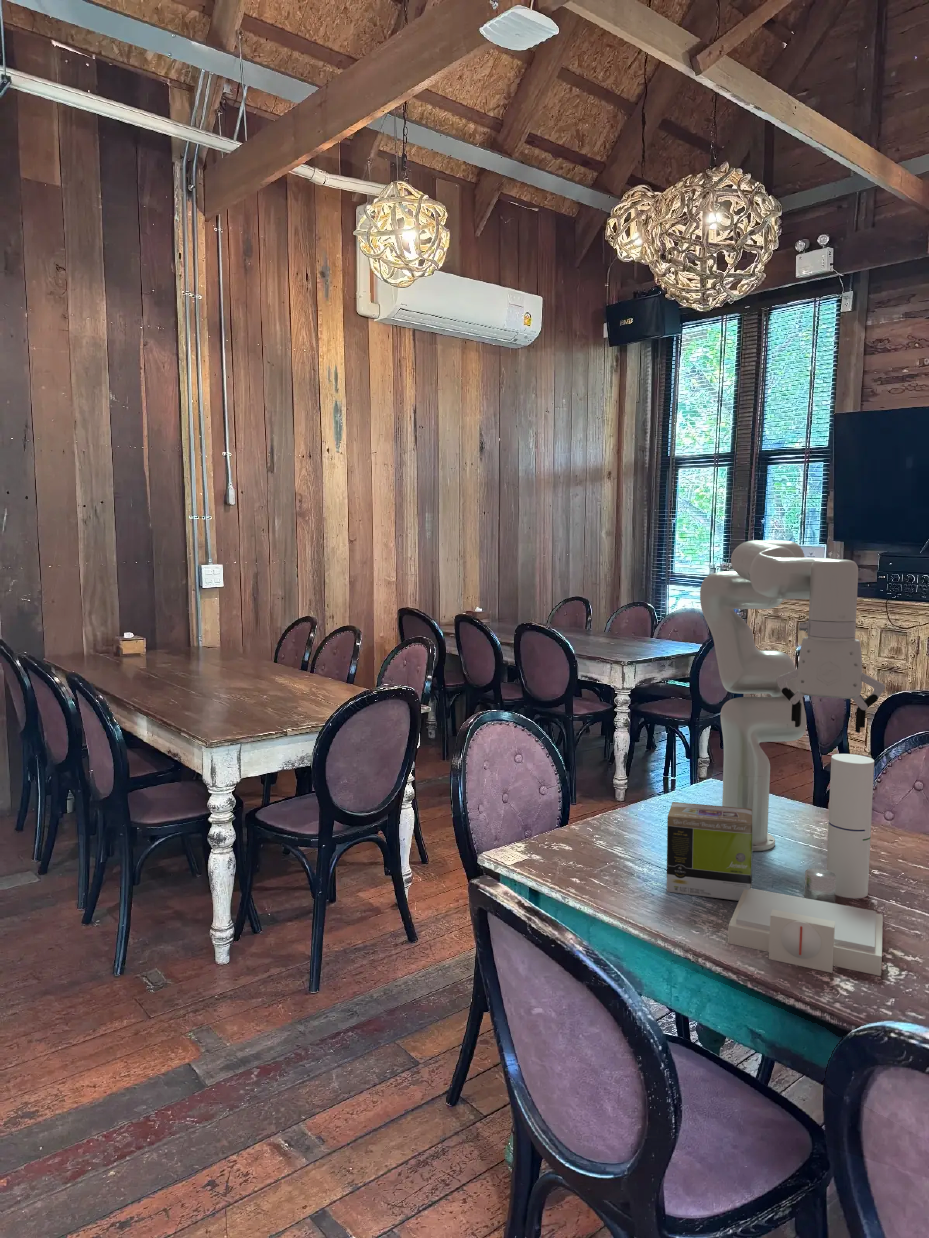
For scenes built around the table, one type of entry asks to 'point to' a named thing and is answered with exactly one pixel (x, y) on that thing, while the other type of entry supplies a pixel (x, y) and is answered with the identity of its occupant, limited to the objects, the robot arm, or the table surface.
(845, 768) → the cylindrical container
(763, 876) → the table surface
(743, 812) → the tea box
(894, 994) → the table surface
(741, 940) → the scale
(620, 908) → the table surface
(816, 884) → the shiny metallic cylinder
